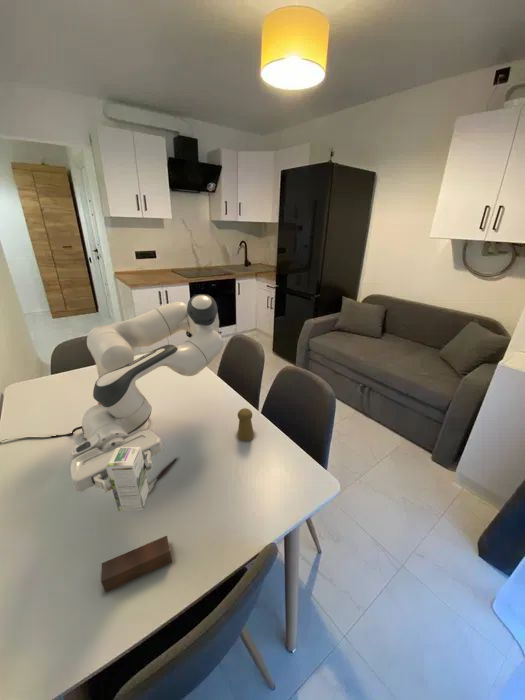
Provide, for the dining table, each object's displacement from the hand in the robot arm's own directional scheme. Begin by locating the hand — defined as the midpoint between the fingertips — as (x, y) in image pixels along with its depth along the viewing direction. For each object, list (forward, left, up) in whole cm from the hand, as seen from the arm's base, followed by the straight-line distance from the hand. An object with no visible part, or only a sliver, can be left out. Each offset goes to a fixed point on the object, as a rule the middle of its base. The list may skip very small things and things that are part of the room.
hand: (129, 477), depth 66 cm
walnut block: (+3, -8, -19) cm, 21 cm away
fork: (-3, +17, -20) cm, 26 cm away
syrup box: (-1, +1, -9) cm, 9 cm away
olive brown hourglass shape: (+21, +38, -19) cm, 47 cm away
